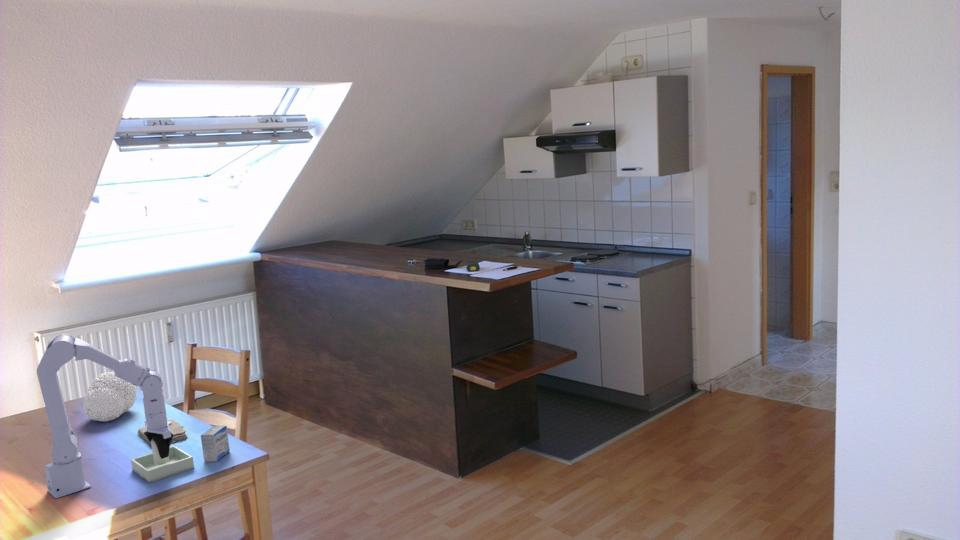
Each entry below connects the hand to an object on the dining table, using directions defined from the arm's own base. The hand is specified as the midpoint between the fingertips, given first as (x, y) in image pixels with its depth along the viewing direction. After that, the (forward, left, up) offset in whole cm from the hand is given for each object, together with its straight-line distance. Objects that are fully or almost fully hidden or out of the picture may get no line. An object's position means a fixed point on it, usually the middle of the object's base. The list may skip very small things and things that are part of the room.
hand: (161, 455), depth 235 cm
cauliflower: (+7, +62, -5) cm, 63 cm away
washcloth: (+11, +28, -5) cm, 30 cm away
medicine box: (+15, -4, -5) cm, 16 cm away
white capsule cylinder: (0, 0, -2) cm, 2 cm away
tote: (0, 0, -4) cm, 4 cm away
